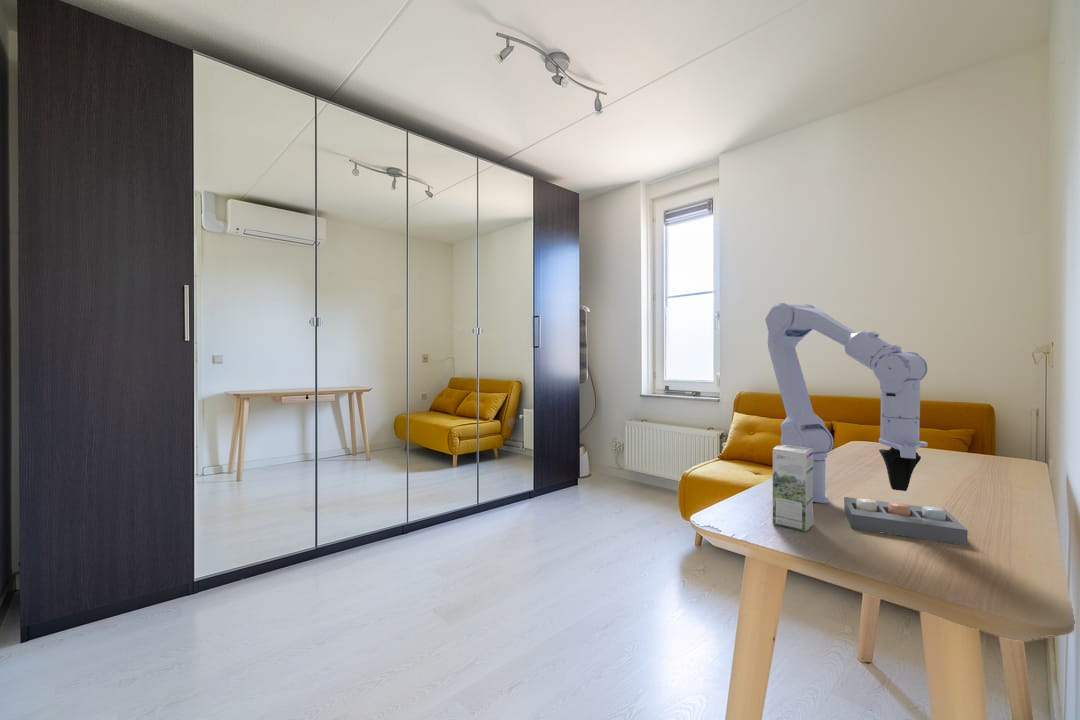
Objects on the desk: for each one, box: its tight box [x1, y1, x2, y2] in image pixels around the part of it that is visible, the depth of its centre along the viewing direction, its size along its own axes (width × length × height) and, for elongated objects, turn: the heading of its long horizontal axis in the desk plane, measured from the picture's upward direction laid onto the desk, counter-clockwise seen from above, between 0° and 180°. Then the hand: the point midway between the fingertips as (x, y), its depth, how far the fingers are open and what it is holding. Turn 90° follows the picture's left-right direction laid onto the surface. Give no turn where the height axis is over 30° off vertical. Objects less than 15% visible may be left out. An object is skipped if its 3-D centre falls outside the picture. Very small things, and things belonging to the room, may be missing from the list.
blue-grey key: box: [922, 505, 947, 521], centre depth 82 cm, size 3×3×3 cm
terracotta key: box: [888, 501, 910, 516], centre depth 85 cm, size 3×3×3 cm
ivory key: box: [856, 497, 877, 512], centre depth 87 cm, size 3×3×3 cm
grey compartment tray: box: [843, 496, 969, 547], centre depth 85 cm, size 16×12×3 cm
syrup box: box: [772, 444, 814, 532], centre depth 85 cm, size 6×6×14 cm
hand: (898, 489), depth 85 cm, fingers closed
